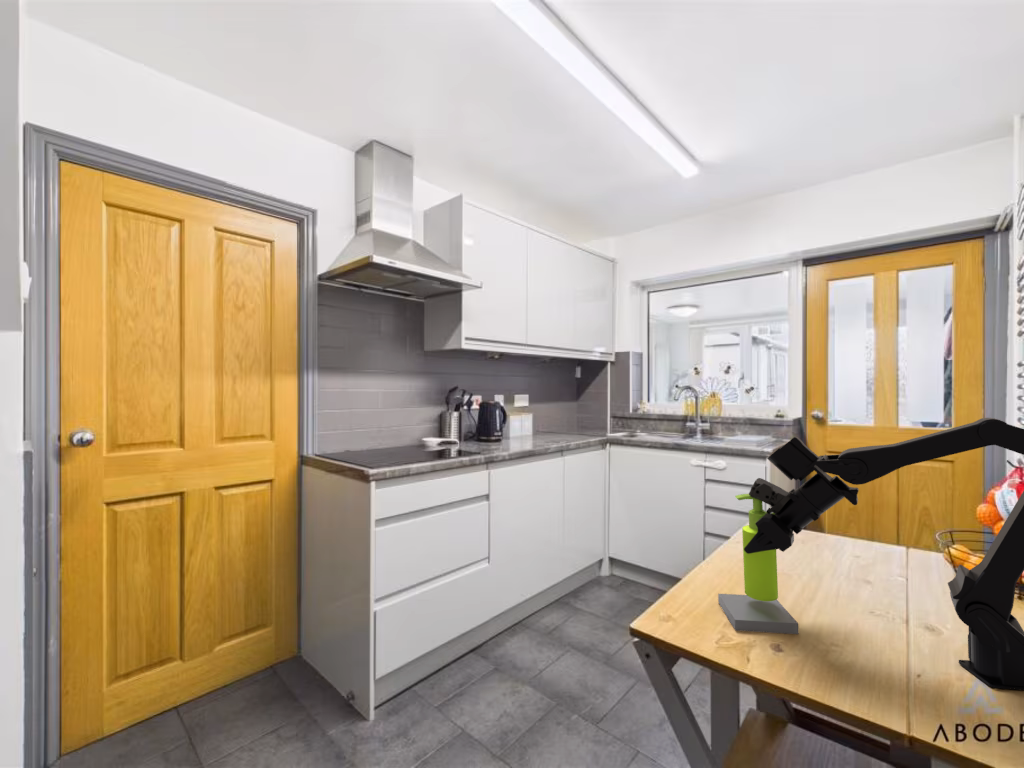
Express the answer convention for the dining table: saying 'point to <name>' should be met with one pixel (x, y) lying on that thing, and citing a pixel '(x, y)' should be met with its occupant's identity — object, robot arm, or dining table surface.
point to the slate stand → (757, 614)
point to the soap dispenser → (758, 559)
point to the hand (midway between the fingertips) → (749, 547)
